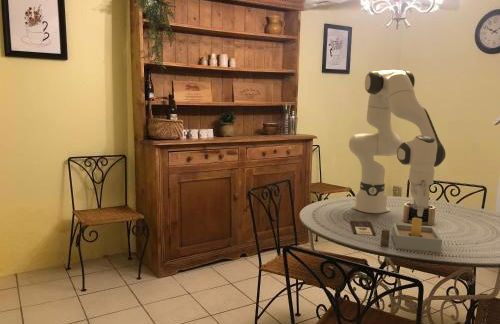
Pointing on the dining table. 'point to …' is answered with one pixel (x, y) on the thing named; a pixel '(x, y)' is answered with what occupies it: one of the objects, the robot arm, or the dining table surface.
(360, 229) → the chocolate bar
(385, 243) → the short dark dowel
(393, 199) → the dining table surface
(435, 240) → the square frame
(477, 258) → the dining table surface
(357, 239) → the dining table surface
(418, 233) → the dowel
